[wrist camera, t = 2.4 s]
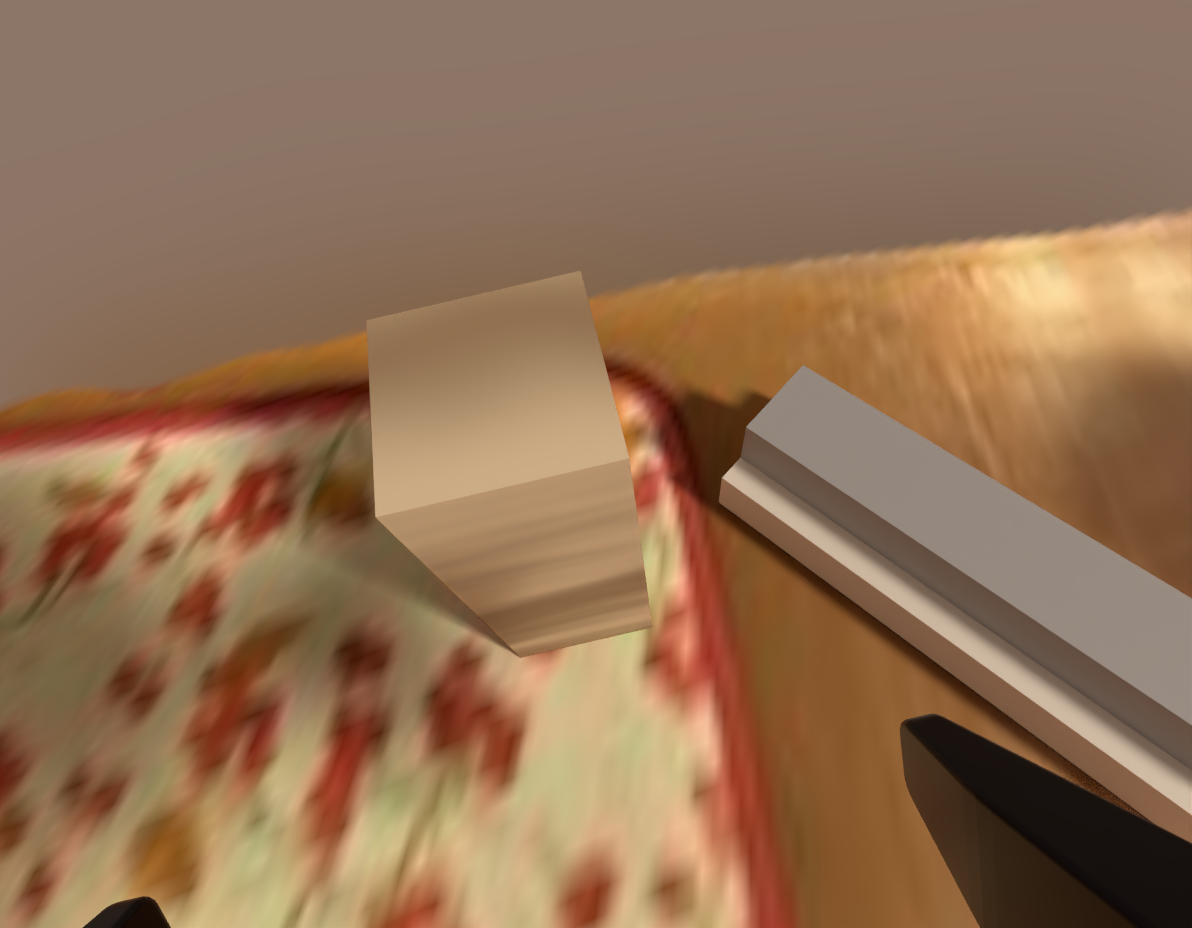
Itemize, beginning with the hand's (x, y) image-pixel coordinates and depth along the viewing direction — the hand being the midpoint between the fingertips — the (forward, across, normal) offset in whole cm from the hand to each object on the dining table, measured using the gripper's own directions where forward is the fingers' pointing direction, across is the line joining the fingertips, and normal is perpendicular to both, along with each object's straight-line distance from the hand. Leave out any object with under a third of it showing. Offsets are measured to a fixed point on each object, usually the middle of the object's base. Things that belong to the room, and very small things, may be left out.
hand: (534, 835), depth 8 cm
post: (+15, 0, +4) cm, 15 cm away
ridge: (+12, -12, +6) cm, 19 cm away
